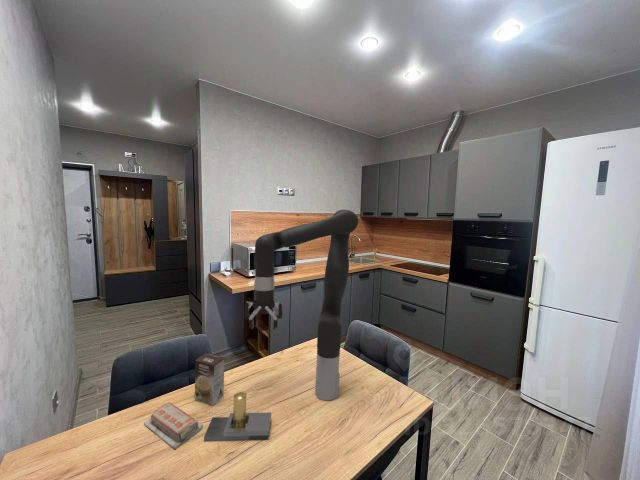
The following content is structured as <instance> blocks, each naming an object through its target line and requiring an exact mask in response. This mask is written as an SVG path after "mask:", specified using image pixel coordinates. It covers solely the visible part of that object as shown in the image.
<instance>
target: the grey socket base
mask: <svg viewBox="0 0 640 480" xmlns="http://www.w3.org/2000/svg"><path fill="white" fill-rule="evenodd" d="M271 423H272V412H246V428H236V429H233V412H231V413H230V414H229V416H226V417H224V416H223V417H222V416H221V417H219V416H217V417H212V418H211V420H210V422H209V424H208V426H207V429H206V431H205V434H204V436H203V442H222V441H223V442H226V441H232V442H233V441H266V440H269V437H270V432H271V431H270V430H271Z"/></svg>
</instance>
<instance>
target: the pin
mask: <svg viewBox="0 0 640 480" xmlns="http://www.w3.org/2000/svg"><path fill="white" fill-rule="evenodd" d="M232 408H233V411H232V413H233V426H232V429H236V428H246V427H247V424H246V413H247V393H245V392H244V391H240V392H239V391H238V392H236V393H235V394H234V395H233V407H232Z"/></svg>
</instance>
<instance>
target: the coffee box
mask: <svg viewBox="0 0 640 480" xmlns="http://www.w3.org/2000/svg"><path fill="white" fill-rule="evenodd" d="M194 363H195V364H194V365H195V368H194V369H195V371H194V401H195V400H196V401H197V402H201V403H203V404H206V405H209V406H212V407H213V406H215V405H216V404H217V403H218V402H219V401H220V400H221V399H222V398H223V397H224V395H225V394H224V391H225V357H224V356H220V355H217V354H214V353H210V352H206V353H204V354H203V355H201V356H199V357H198V358H197V359H195V361H194Z"/></svg>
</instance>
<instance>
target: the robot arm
mask: <svg viewBox="0 0 640 480" xmlns="http://www.w3.org/2000/svg"><path fill="white" fill-rule="evenodd" d="M358 224H359V219H358V215H357V214H356V213H355V212H354V211H352V210H349V209H340V210H338V211H336V212H335V213H334V214H333V215H332V216H329V217H327V218H325V219H322V220H318V221H314V222H309V223H308V222H307V223H304V224H299V225H296V226H295V225H294V226H292V227H288V228H285V229H283V230H280V231H276V232H271V233H267V234H264V235H263V234H262V235H261V236H259V237H258V238H257V239H256V241H255V245H254V256H255V266H254V267H255V270H254V275H255V276H254V281H253V283H254V284H253V302H252V301H249V300H247V301H246V302H245V303H244V314H243V317H244V319H248V321H249V323H248V324H249V325H248V328H250V330H253V329H254V327H255V326H254V323H255V320H254V319H255V316H256V315H257V314H259V315H263V314H264V315H268V314H269V315H270V316H271V317H272V318H273V330H276V329H277V328H278V321H279V320H280V319H282V318H283V314H284V313H283V302H282V301H279V302H275V262H274V260H275V259H274V257H275V256H274V255H275V251H276V250H280V249H283V248H285V249H286V248H291V247H294V246H298V245H301V244H305V243H307V242H310V241H314V240H317V239H320V238H324V237H325V238H326V237H329V236H330V244H329V248H328V253H327V257H326V258H327V260H326V264H325V270H324V279H323V280H324V281H323V303H322V308H321V310H320V311H321V312H320V316H319V318H318V324H317V339H316V366H315V367H316V368H315V388H314V389H315V391H314V393H315V396H316V397H317V398H318V399H319V400H321V401H333V400H335V399H339V397H340V396H339V394H340V379H341V377H340V372H339V371H340V355H341V345H342V343H341V342H342V321H341V319H342V318H341V310H342V300H343V298H344V294H345V291H346V288H347V285H348V279H349V271H350V260H349V259H350V256H349V240H350V237H351V236H350V235H351V233H353V232H354V231H355V230H356V229H357V227H358ZM251 307H253V308H254V310H253V312H251V314H250V313H249V312H250V309H251ZM275 307H276V308H277V309H278V314H277V312H276V311H275V310H274V308H275Z"/></svg>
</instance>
